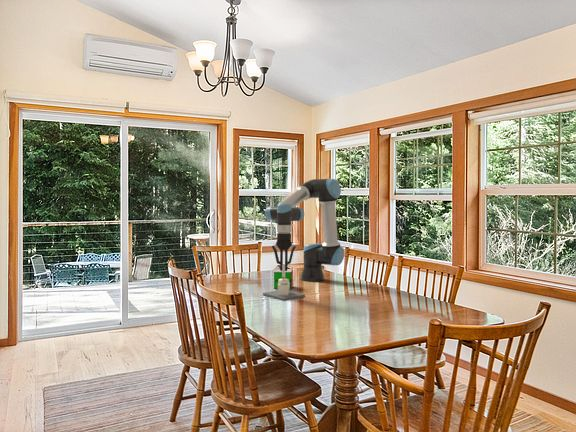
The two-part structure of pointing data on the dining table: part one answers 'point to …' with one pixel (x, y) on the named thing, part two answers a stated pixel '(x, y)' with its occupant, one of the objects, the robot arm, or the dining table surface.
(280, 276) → the puzzle cube
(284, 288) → the knob
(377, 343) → the dining table surface
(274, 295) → the board
